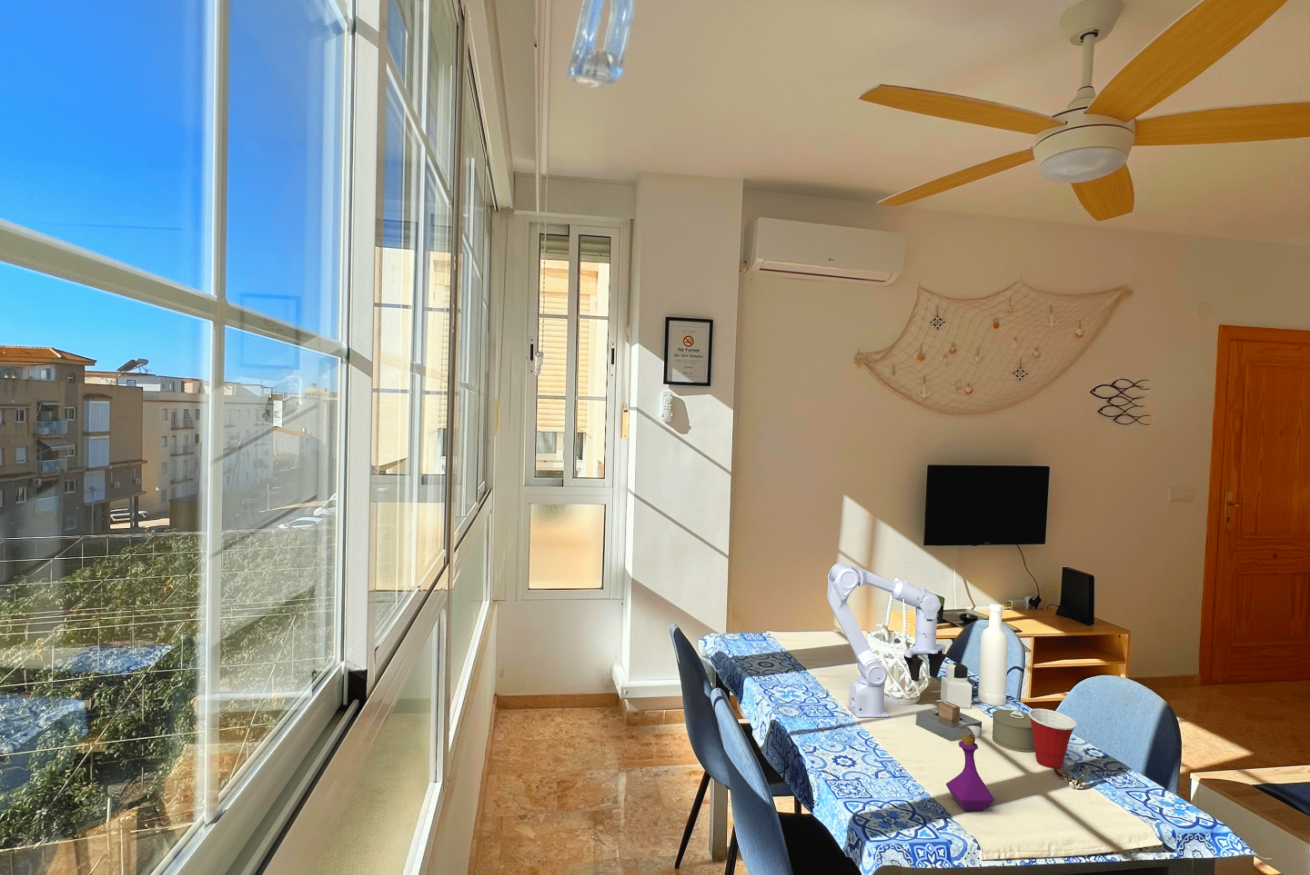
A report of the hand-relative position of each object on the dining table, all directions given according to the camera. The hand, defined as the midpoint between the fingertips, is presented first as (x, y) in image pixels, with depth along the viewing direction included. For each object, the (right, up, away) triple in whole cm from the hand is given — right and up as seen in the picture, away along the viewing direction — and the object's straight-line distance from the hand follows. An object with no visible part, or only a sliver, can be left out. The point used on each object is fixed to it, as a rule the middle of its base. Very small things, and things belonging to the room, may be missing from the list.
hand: (924, 678), depth 218 cm
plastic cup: (+21, -12, -30) cm, 39 cm away
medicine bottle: (+13, -11, +10) cm, 20 cm away
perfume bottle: (-9, -11, -54) cm, 55 cm away
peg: (+3, -11, -11) cm, 15 cm away
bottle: (+26, -11, +13) cm, 31 cm away
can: (+18, -12, -18) cm, 28 cm away
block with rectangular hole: (+3, -11, -11) cm, 15 cm away
